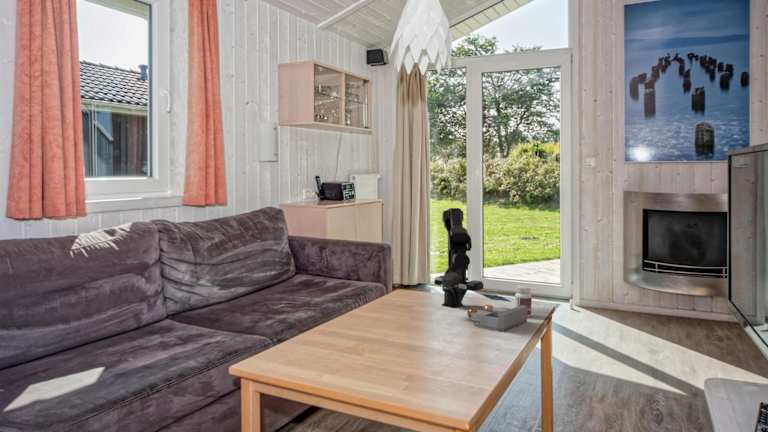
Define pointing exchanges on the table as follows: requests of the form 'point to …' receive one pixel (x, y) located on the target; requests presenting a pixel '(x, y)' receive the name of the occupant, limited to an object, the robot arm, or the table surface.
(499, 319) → the mount
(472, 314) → the knob near
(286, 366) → the table surface
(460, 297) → the robot arm
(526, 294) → the pill bottle
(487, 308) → the knob far
